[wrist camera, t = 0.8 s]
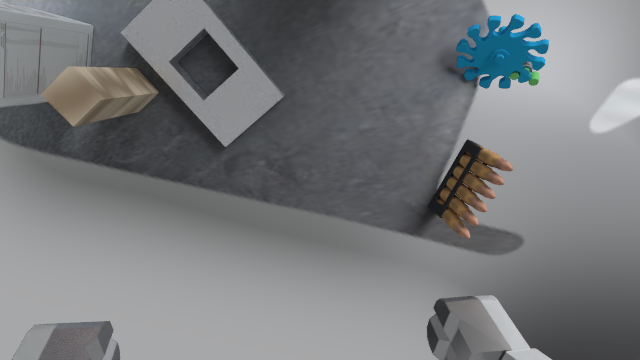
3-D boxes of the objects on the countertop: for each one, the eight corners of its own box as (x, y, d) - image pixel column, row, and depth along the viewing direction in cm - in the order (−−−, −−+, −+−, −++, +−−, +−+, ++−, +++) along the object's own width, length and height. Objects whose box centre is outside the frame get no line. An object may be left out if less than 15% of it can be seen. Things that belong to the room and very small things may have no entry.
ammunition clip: (467, 138, 52) (509, 157, 40) (478, 144, 52) (524, 165, 40) (428, 205, 54) (457, 241, 43) (439, 211, 55) (471, 248, 43)
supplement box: (20, 4, 47) (-137, -31, 31) (95, 24, 48) (-20, -1, 31) (17, 82, 50) (-129, 86, 33) (89, 99, 50) (-21, 112, 34)
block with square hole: (132, 35, 48) (120, 32, 45) (188, -22, 46) (179, -28, 43) (230, 143, 52) (225, 147, 49) (285, 95, 50) (283, 96, 47)
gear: (436, 58, 47) (509, 3, 39) (444, 29, 50) (513, -28, 42) (496, 109, 51) (574, 67, 42) (500, 79, 54) (574, 35, 45)
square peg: (116, 88, 50) (40, 94, 36) (136, 68, 49) (68, 66, 36) (138, 112, 51) (73, 126, 37) (159, 92, 50) (100, 99, 36)
